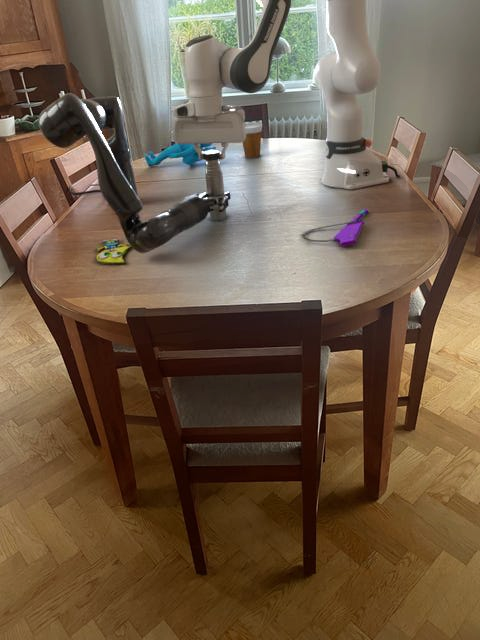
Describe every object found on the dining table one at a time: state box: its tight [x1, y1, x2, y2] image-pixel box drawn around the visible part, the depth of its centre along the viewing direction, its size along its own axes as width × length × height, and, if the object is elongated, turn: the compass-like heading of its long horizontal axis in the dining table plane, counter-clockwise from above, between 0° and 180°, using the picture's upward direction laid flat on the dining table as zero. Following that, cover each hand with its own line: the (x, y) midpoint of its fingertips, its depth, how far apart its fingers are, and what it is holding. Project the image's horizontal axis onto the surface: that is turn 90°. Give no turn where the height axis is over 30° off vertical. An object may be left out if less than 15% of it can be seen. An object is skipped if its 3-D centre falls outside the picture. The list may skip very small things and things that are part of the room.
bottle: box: [204, 159, 228, 221], centre depth 140 cm, size 5×5×19 cm
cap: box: [203, 149, 221, 162], centre depth 135 cm, size 5×5×2 cm
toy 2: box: [144, 142, 217, 168], centre depth 197 cm, size 17×11×30 cm
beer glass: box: [241, 123, 263, 159], centre depth 199 cm, size 10×10×12 cm
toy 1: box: [95, 238, 133, 265], centre depth 129 cm, size 10×1×15 cm
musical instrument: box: [301, 208, 369, 248], centre depth 130 cm, size 24×2×20 cm
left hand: (221, 194), depth 144 cm, fingers closed on bottle, 5 cm apart
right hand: (212, 159), depth 136 cm, fingers closed on cap, 4 cm apart
